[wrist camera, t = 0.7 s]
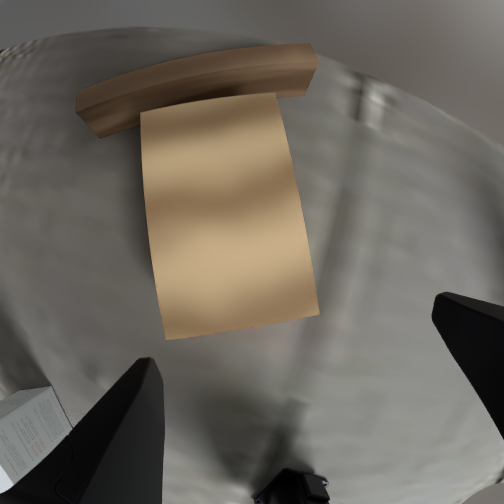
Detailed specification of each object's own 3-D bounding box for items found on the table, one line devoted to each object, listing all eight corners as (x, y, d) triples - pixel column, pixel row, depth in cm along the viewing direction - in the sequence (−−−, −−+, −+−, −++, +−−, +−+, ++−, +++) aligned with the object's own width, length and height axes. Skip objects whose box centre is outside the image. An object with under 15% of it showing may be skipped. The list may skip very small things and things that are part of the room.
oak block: (293, 302, 26) (319, 314, 18) (184, 320, 26) (166, 340, 18) (263, 137, 27) (275, 92, 19) (162, 152, 26) (140, 112, 19)
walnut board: (304, 95, 28) (318, 61, 22) (99, 138, 26) (75, 112, 20) (297, 77, 28) (310, 43, 22) (99, 119, 26) (76, 91, 20)
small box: (19, 389, 23) (-49, 426, 10) (52, 384, 24) (-21, 429, 11) (48, 446, 23) (-5, 497, 10) (83, 446, 23) (31, 508, 10)
